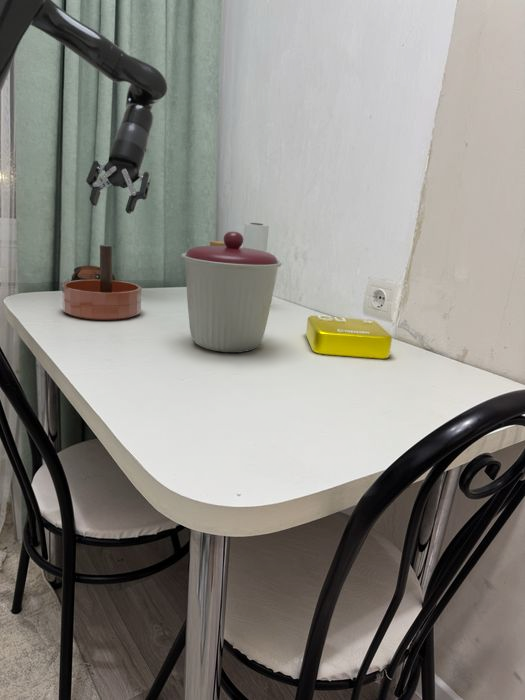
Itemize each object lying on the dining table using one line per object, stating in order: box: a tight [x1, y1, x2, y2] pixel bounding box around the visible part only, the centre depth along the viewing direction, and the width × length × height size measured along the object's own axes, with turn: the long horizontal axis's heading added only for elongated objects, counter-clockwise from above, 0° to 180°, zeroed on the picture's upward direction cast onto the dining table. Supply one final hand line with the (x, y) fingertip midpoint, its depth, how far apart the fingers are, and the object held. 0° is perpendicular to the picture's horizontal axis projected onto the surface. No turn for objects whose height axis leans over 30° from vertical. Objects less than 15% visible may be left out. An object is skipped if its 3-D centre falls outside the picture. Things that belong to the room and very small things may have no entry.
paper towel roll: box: [242, 222, 270, 252], centre depth 130 cm, size 7×6×21 cm
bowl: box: [61, 280, 142, 321], centre depth 112 cm, size 16×16×6 cm
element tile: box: [305, 314, 393, 360], centre depth 102 cm, size 15×15×5 cm
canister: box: [180, 231, 283, 353], centre depth 93 cm, size 18×18×21 cm
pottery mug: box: [70, 265, 116, 281], centre depth 131 cm, size 12×10×8 cm
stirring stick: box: [99, 244, 113, 292], centre depth 112 cm, size 5×5×14 cm
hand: (110, 208), depth 120 cm, fingers open, 8 cm apart
